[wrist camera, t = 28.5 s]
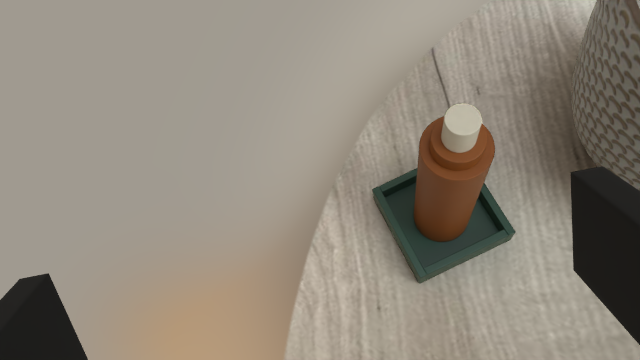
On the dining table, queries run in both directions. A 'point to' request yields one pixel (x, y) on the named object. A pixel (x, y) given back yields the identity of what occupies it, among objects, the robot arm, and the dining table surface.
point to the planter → (610, 88)
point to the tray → (430, 255)
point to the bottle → (451, 172)
